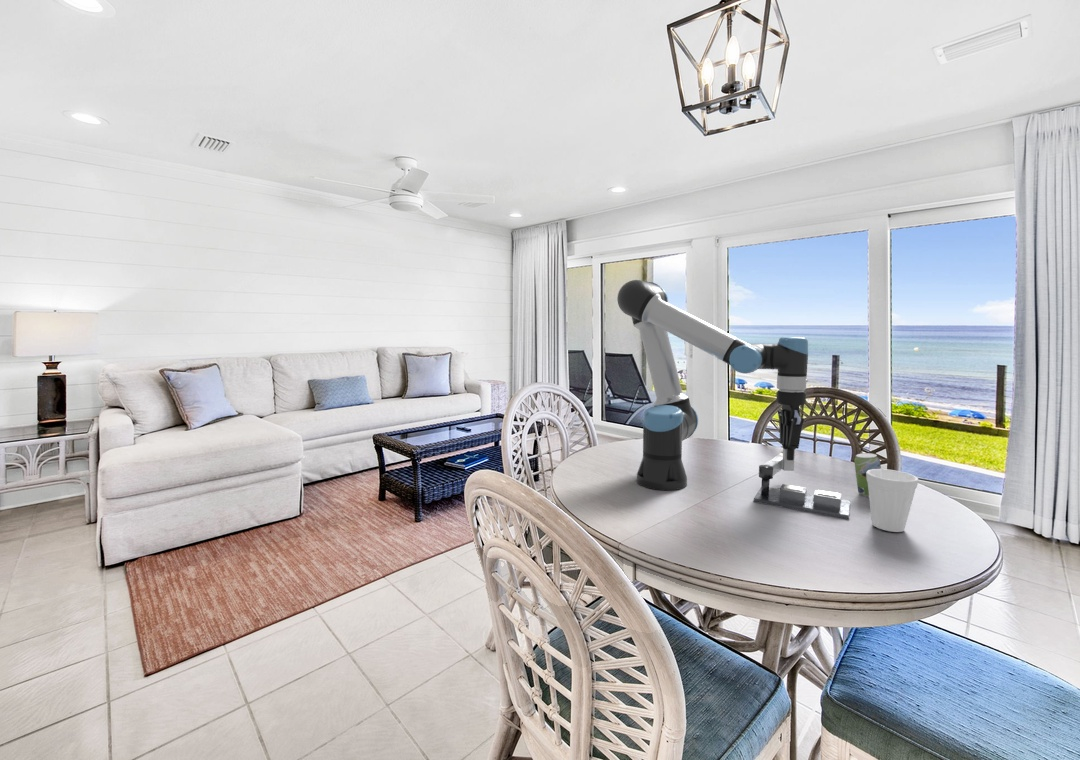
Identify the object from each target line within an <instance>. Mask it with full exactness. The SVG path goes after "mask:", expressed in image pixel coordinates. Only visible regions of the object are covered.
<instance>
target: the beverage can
mask: <svg viewBox="0 0 1080 760" xmlns="http://www.w3.org/2000/svg"><path fill="white" fill-rule="evenodd" d="M853 461H854V470H855V476H856V485H857V486H856V487H857V493H858V494H859V495H862V496H863V497H867V498H869V491H868V482H867V478H866V472H867V471H868V470H871V469H882V466H881V460H880V458H879V457H878V455H877V454H875V453H872V452H864V453H863V452H862V453H861V452H860V453H858V454H856V455H855V458H854V459H853Z"/></svg>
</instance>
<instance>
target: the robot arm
mask: <svg viewBox="0 0 1080 760" xmlns="http://www.w3.org/2000/svg"><path fill="white" fill-rule="evenodd" d="M616 301H617V305H618V307H619V309H620V310H621V312H622V313H624V314H625V315H627V316H629V317H631V320H632V325H633V327H634V328H636V329H638V330H639V333H640V337H641V341H642V344H643V348H644V349H643V350H644V353H645V357H646V362H647V366H648V369H649V373H650V376H651V381H652V385H653V390H654V394H655V397H656V399H655V401H654V404H653V406H650V407H648V408H647V409H645V411H644V413H643V419H642V427H643V428H642V459H641V461H640V464H639V466H638V467H639V468H638V470H637V473H636V482H637V484H639V485H640V486H642V487H645V488H648V489H652V490H656V491H657V490H659V491H676V490H682V489H684V488H686V487H687V485H688V476H687V473H686V470H685V466H684V464H683V463H684V462H683V459H682V457H683V456H682V455H683V453H682V452H683V451H682V450H683V448H682V447H683V441H684V440H686V439H689V438H690V437H691V436H692V435H694V432H695V431H696V430H697V428H698V425H699V417H698V413H697V412H696V410H695V409H694V408H693V407H692V406H691V405H692V404H691V402H690V398H689V396H688V395H686V394H685V393H684V392H683V389H682V385H681V382H680V381H681V380H680V377H679V373H678V369H677V366H676V361H675V358H674V357H675V356H674V354H673V349H672V345H671V341H670V337H669V334H671V335H673V336H676V338H678V339H681V340H683V341H685V342H686V343H688V344H691V345H692V346H694V347H696V348H698V349H700V350H702V351H703V352H705V353H707V354H709V355H711V356H713V357H714V358H716V359H718V360H721V362H724V363H725V364H727V365H729V366H731V368H732V369H733V370H734V371H736V372H737V373H740V374H750V373H754V372H755V371H757V370H777V375H776V389H777V391H776V403H777V404H778V405H781V410H778V411H777V416H778V417H777V418H778V423H779V424H778V426H779V428H778V429H779V430H778V431H779V442H780V444H781V446H782V452H783V463H782V469H781V470H783V472H784V471H788V472H789V471H792V472H793V471H795V453H796V452H795V450H796V449H798V450H799V448H800V441H801V434H802V428H803V425H804V421H805V418H804V417H801V410H800V406H803V405H806V403H807V401H806V400H807V399H806V398H807V392H806V391H805V390H807V383H808V382H809V380H808V379H807V378H808V363H809V360H808V359H809V340H808V339H807V338H806V337H802V336H794V337H793V336H790V337H788V336H787V337H784V336H781V337H780V338H779V339H778V342H777V343H749V342H748V343H747V342H746V341H744V340H742V339H739V338H738V337H736V336H734V335H732V334H730V333H728V332H726V331H725V330H722V329H721V328H718V327H716V326H714V325H712V324H711V323H709V322H707V321H705V320H702V319H700V318H698V317H697V316H695V315H693V314H691V313H688V312H687V311H685V310H682V309H681V308H679V307H677V306H675V305H673V304H671V303H669V298H668V294H667V292H666V290H664V288H663V287H662V286H660V285H659V284H658V283H655V282H652V281H644V280H641V279H633V280H629V281H627V282H625V283H624V284H623V285H622V286H621V287H620V289H619V291H618V293H617V299H616ZM668 333H669V334H668Z"/></svg>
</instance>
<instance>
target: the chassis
mask: <svg viewBox="0 0 1080 760" xmlns="http://www.w3.org/2000/svg"><path fill="white" fill-rule="evenodd" d="M770 480H771V479H763V478H761V486H760V488H759V490H758V492H757V493H756V495H755V496H754V497H753V503H759V504H764V505H771V506H775V507H779V508H780V507H781V508H784V509H791V510H796V511H801V512H802V511H803V512H808V513H812V514H818V515H824V516H829V517H833V518H834V517H835V518H840V519H846V520H849V518H850V509H851V508H850V504H851V501H850V500H848V499H842V493H839V492H834V491H827V490H821V489H815V490H814V492H813V494H812V493H807V492H808V488H807V487H803V486H799V485H798V486H797V485H791V484H785V483H783V484H782V485H781V486H780V488H775V487H771V486H770V483H771V482H770Z"/></svg>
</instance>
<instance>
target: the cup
mask: <svg viewBox="0 0 1080 760" xmlns="http://www.w3.org/2000/svg"><path fill="white" fill-rule="evenodd" d="M866 478H867V482H868V491H869V497H868V499H869V507H870V508H869V509H870V518H871V519H870V520H871V524H872V526H873V527H876V528H877V529H879V530H882V531H886V532H893V533H901V532H902V533H903V532H904V531H905V529H906V526H907V521H908V518H909V514H910V511H911V507H912V502H913V500H914V497H915V493H916V489H917V488H918V484H919V479H920V478H919V477H917V476H916V475H914V474H911V473H909V472H904V471H900V470H894V469H889V468H888V469H887V468H885V469H884V468H881V469H871V470H868V471H867V472H866Z"/></svg>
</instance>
